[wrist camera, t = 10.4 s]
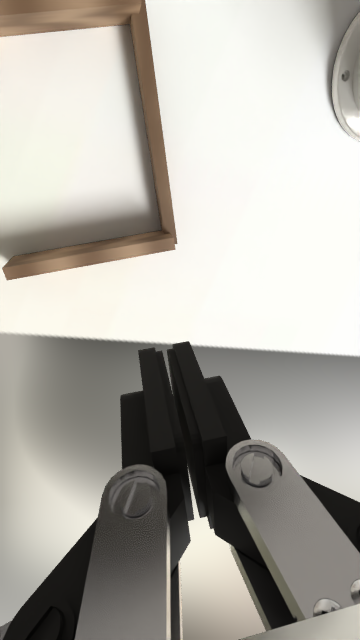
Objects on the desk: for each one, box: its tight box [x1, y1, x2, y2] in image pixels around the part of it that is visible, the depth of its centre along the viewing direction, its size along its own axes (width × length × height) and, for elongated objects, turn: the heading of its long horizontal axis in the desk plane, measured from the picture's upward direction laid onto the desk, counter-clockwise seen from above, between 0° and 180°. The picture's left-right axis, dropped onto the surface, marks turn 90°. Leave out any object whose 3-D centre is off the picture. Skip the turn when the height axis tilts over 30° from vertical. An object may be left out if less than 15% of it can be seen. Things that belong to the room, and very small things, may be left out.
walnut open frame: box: [0, 0, 177, 280], centre depth 28 cm, size 17×19×4 cm
